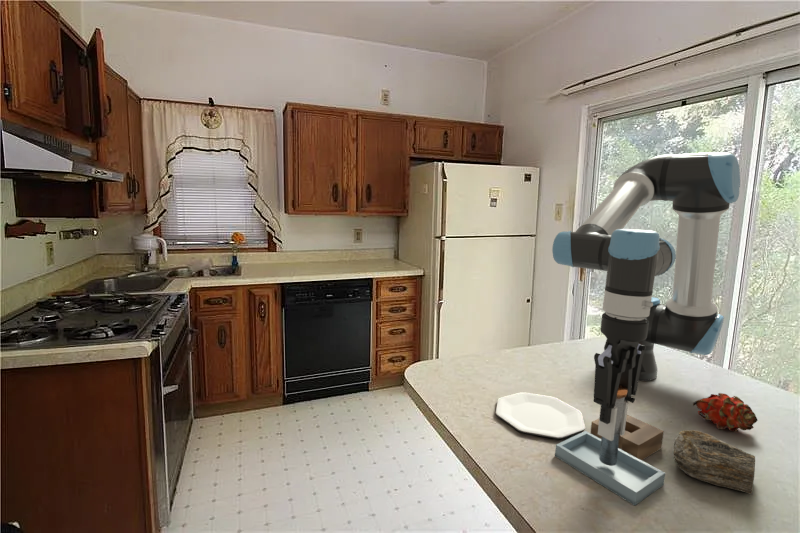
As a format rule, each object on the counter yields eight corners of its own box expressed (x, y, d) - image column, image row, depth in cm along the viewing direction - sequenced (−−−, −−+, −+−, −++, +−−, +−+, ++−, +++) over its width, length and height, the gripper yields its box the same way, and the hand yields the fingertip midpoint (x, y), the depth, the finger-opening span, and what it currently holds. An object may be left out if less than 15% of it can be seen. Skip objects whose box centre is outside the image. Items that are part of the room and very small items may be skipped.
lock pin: (593, 458, 80) (601, 386, 78) (604, 453, 82) (612, 382, 80) (611, 469, 77) (620, 394, 75) (622, 462, 79) (631, 389, 77)
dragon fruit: (758, 447, 92) (693, 431, 101) (762, 414, 96) (700, 402, 105) (753, 424, 88) (686, 410, 97) (758, 392, 93) (694, 381, 102)
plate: (539, 450, 86) (540, 444, 86) (479, 407, 103) (480, 402, 103) (602, 428, 95) (602, 422, 95) (537, 392, 113) (537, 387, 112)
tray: (554, 456, 84) (555, 444, 84) (584, 441, 89) (585, 430, 89) (634, 505, 71) (636, 492, 70) (663, 485, 76) (665, 472, 76)
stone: (657, 453, 80) (681, 410, 82) (666, 470, 86) (688, 429, 88) (742, 502, 70) (767, 450, 72) (745, 517, 76) (769, 469, 78)
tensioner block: (589, 438, 91) (591, 421, 90) (615, 426, 96) (617, 410, 95) (636, 463, 82) (638, 445, 82) (661, 448, 88) (663, 430, 87)
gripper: (621, 327, 68) (605, 458, 72) (669, 314, 76) (652, 431, 80) (579, 315, 74) (567, 436, 78) (628, 305, 83) (615, 414, 86)
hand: (610, 434), depth 79 cm, fingers closed on lock pin, 3 cm apart
